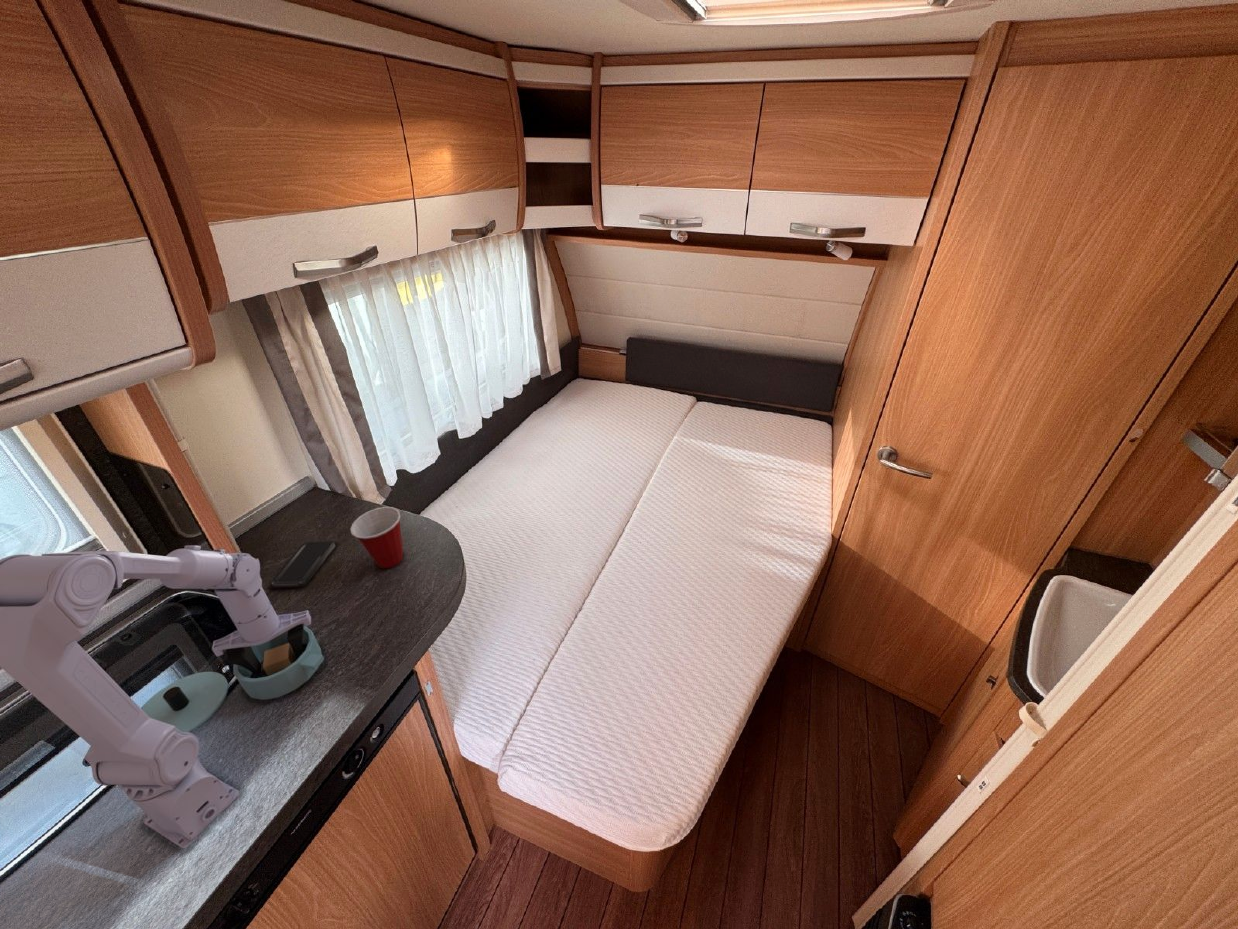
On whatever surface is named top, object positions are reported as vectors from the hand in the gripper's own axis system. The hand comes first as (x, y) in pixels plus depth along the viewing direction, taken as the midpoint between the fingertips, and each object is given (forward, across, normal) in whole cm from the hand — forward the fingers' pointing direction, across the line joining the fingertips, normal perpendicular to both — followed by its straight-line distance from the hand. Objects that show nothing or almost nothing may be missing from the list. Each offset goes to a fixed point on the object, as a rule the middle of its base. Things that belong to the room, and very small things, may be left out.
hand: (281, 663), depth 94 cm
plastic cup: (+2, -21, -23) cm, 31 cm away
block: (+2, 0, 0) cm, 2 cm away
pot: (+2, 0, 0) cm, 2 cm away
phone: (+2, -3, -32) cm, 32 cm away
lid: (+1, +16, 0) cm, 16 cm away
